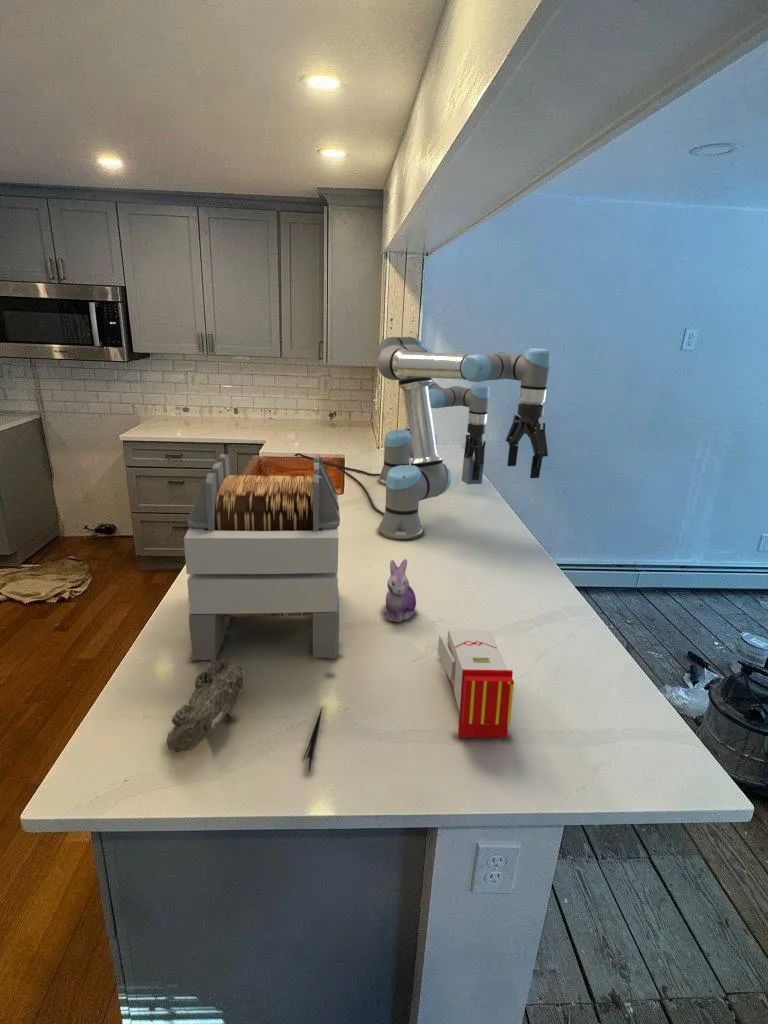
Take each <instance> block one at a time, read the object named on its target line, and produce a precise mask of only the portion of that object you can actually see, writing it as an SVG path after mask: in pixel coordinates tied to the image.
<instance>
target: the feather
mask: <svg viewBox="0 0 768 1024" xmlns="http://www.w3.org/2000/svg"><path fill="white" fill-rule="evenodd" d="M329 675H330V676H331V675H332V674H331V673H330V674H329ZM322 710H323V707H321V708H320V710H319V713H318V716H317V719H316V723H315V725H314V728H313V731H312V733H311V737H310V739H309V742H308V745H307V748H306V751H305V754H304V757H303V760H302V763H301V767H302V765H303V763H304V761H305V758H308V759H309V760H308V762H307V763H308V764H307V766H308V771H310V770H311V766H312V765H311V764H312V760H313V757H315V756H314V755H315V751H316V749H315V746H317V739H318V733H319V729H320V722H321V717H322V712H323V711H322ZM313 754H314V755H313ZM306 755H307V757H306Z"/></svg>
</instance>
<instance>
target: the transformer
mask: <svg viewBox="0 0 768 1024" xmlns="http://www.w3.org/2000/svg"><path fill="white" fill-rule="evenodd" d="M313 458H314V460H313V473H312V474H313V475H307V476H303V475H296V476H294V475H293V476H291V475H268V476H267V475H265V476H263V475H251V474H250V475H236V474H233V475H232V474H231V469H230V457H229V454H228V453H226V454H225V453H220V455H219V457H218V459H217V461H214V464H213V466H212V468H211V471H210V472H208V473H207V474H206V476H205V479H204V481H203V483H202V485H201V488H200V490H199V492H198V495H197V497H196V500H195V502H194V503H193V506H192V508H191V510H190V513H189V516H188V518H187V527H188V530H187V532H186V534H185V535H184V537H183V545H184V556H185V570H186V575H188V578H187V580H186V581H187V582H186V583H187V591H188V592H187V593H188V594H187V595H188V605H189V606H188V608H189V612H188V622H189V623H188V625H189V637H190V644H191V654H192V656H191V660H192V661H195V662H199V661H212V660H216V658H217V655H218V653H219V651H220V649H221V647H222V644H223V643H224V640H225V638H226V627H229V623H230V620H231V617H250V616H251V617H280V616H282V617H284V616H285V617H286V616H296V617H297V616H312V658H313V659H318V658H319V659H320V658H321V659H324V658H327V659H336V658H337V657H339V656H340V599H339V577H338V573H339V572H338V571H339V530H338V529H339V527H340V525H341V524H340V522H341V516H340V515H341V514H340V506H339V505H340V504H339V497H338V491H337V489H336V487H335V485H334V483H333V481H332V479H331V477H330V474H329V472H328V470H327V468H326V466H325V464H323V462H322V461H323V459H322V458H321V456H320V454H313Z"/></svg>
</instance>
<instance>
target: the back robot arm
mask: <svg viewBox="0 0 768 1024" xmlns="http://www.w3.org/2000/svg"><path fill="white" fill-rule="evenodd" d="M414 344H417V345H423V346H424V344H423V342H422V341H421V340H420V339H419V338H417V337H413V336H389V337H386V338H384V339H383V340H381V342H379V345H378V348H377V358H378V357H379V355H380V353H381V351H382V350H383V349H385V348H386V347H388V346H392V345H414ZM431 380H432V382H431V383H430V385H429V387H428V390H429V397H430V404H431V409H441V408H443V409H444V408H449V407H451V408H452V407H467V408H468V417H467V422H468V423H467V429H466V432H467V433H468V434H466V435H465V446H464V453H463V458H464V457H475V464H473V465H474V466H473V476H472V480H479V473H480V465H483V464H484V465H485V451H486V449H485V448H486V443H487V441H486V440H483V435H484V434H486V431H487V420H488V411H489V410H488V409H489V401H490V396H491V395H490V387H489V386H488V385H486V384H472V385H471V386H470V388H469V387H463V386H460V385H452V386H450V387H446V388H444V387H442V386H440V385H439V384H438V383H437V382H436V381H434V379H433V378H431ZM401 389H402V388H401ZM401 391H402V396H403V403H404V409H405V410H404V411H405V416H406V423H407V425H406V427H405V428H404V429H393V430H390V431H388V432H387V433H386V434H385V436H384V442H383V445H384V448H383V449H384V450H383V465H382V468H381V470H380V473H372V472H371V473H370V472H368V471H365V470H361V469H357V468H353V467H352V468H351V467H348V466H343V465H338V464H335V463H331V462H326V461H323V460H322V462H323V464H324V465H326V466H329V467H330V466H331V467H334V468H337V467H339V468H341V469H343V470H347V471H352V472H356V473H357V472H358V473H362V474H364V475H367V476H371V477H378V482H379V484H381V485H383V486H386V480H387V473H388V471H389V470H390V469H391V468H393V467H396V466H400V465H403V466H404V465H410V462H411V460H410V459H413V458H414V456H413V449H412V442H411V435H410V428H409V421H408V414H407V407H406V400H405V393H404V390H403V389H402V390H401ZM435 441H436V447H437V446H438V437H437V433H435ZM293 456H294V457H297V456H300V457H303V458H305V459H308V460H310V461H314V457H311V456H308V455H305V454H303V453H299V452H298V453H295V454H294V455H293Z"/></svg>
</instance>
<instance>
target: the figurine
mask: <svg viewBox="0 0 768 1024" xmlns="http://www.w3.org/2000/svg"><path fill="white" fill-rule="evenodd" d="M407 567H408V559H406V558H404V559H403V560H402V561H401V563H400V565H399V566H398V565H397V563H396V562H395V561H394V560H393V559H391V560H390V561H389V570H390V576H389V578H388V579H387V589H388V591H387V592H386V594H385V595H386V596H385V607H384V615H385V616H386V620H387V621H391V622H395V623H400V622H402V621H406V620H409V619H410V618H411V617H413V616H414V615H415V610H416V606H417V597H416V593H415V591H414V590H413V587H411V586H410V582H409V579H408V577H407V574H406V571H407Z"/></svg>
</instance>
